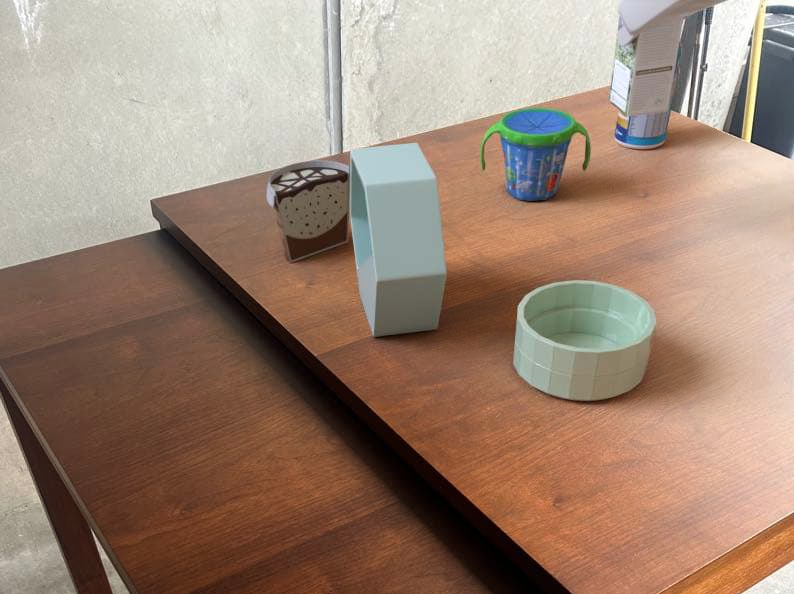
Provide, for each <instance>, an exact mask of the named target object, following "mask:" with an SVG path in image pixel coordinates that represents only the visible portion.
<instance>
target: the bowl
mask: <svg viewBox="0 0 794 594" xmlns="http://www.w3.org/2000/svg"><path fill="white" fill-rule="evenodd" d="M656 328H657V317H656V311H655V310H654V309H653V307H652V306H651V305H650V303H649V302H648V301H647V300H645V299H644V298H643V297H642V296H640V295H638V294H637V293H635V292H633V291H632V290H628V289H627V288H623V287H622V286H619V285H616V284H611V283H606V282H601V281H596V280H579V279H572V280H565V281H563V280H562V281H555V282H551V283H548V284H546V285H542V286H539V287H536V288H534V289H533V290H532V291H530V292H528V293H527V294H525V295H524V296H523V298H522V299H521V301H520V302H519V304H518V305H517V311H516V322H515V333H514V344H513V357H512V358H513V359H512V363H513V366H514V368H515V370H516V372H517V373H518V375H519V377H520V378H522V379H523V380H524V381H525V382H526V383H527V384H529V385H530V386H531V387H533V388H535V389H537V390H539V391H540V392H543V393H545V394H547V395H550V396H552V397H556V398H560V399H563V400H568V401H576V402H577V401H579V402H593V401H595V402H596V401H602V400H606V399H611V398H614V397H618V396H620V395H623V394H625V393H628V392H630V391H631V390H633V389H634V388H635V387H637V386H638V385H639V384H640V383H641V382H643V379H644V376H645V374H646V373H647V368H648V365H649V361H650V360H649V359H650V355H651V350H652V347H653V342H654V338H655V337H654V336H655V332H656Z"/></svg>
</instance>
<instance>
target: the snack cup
mask: <svg viewBox="0 0 794 594" xmlns="http://www.w3.org/2000/svg"><path fill="white" fill-rule="evenodd" d="M495 133H498V134H499V137H500V143H501V149H502V152H503V160H504V161H503V162H504V163H503V165H504V175H505V187H506V191H507V192H508V193H509V194H510V196H511V197H514V198H515V199H518V200H520V201H527V202H536V201H541V200H542V201H547V200H548V199H549V198H552V197H553V196H554V195H555V194H556V193H557V192H558V190H559V187H560V183H561V179H562V176H563V171H564V169H565V164H566V160H567V156H568V151H569V146H570V144H571V142H572V139H573V136H574V135H575V134H577V133H578V134H581V135H582V136H584V137H585V149H584V161H583V163H582V166H581V167H582V171H583V172H585V171H587V169H588V167H589V164H590V160H591V154H592V153H591V152H592V147H591V146H592V145H591V140H590V136H589V134H588V131H587V129H586V128H585V127H584V126H583V125H582V124H581V123H579V122H578V121H576V119H575V118H574V117H573V116H572V115H571V114H570V113H568V112H565V111H562V110H558V109H555V108H548V107H530V108H529V107H528V108H522V109H517V110H512V111H510V112H508V113H506V114H504V115H503V116H502V117H501V118H500V120H499V121H498V122H496V123H494V124H493V125H491V126H490V127H489V128H488V130H487V131H485V134H484V136H483V138H482V141H481V145H480V166H481V169H482V171H485V170H486V160H485V145H486V143H487V141H488V140H489V138H490V137H492V135H493V134H495Z"/></svg>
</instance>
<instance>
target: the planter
mask: <svg viewBox="0 0 794 594" xmlns="http://www.w3.org/2000/svg"><path fill="white" fill-rule="evenodd" d="M349 151H350V152H349V154H350V155H349V160H350V161H349V166H350V198H349V221H350V228H351V235H352V244H353V251H354V260H355V269H356V276H357V285H358V293H359V297H360V299H361V303H362V306H363V309H364V313H365V316H366V319H367V322H368V326H369V328H370V332H371V335H372V337H373V338H376V337H377V338H378V337H385V336H393V335H402V334H411V333H417V332H418V333H419V332H428V331H436V330H438V329H439V323H440V317H441V312H442V311H441V310H442V305H443V298H444V292H445V287H446V281H447V275H448V270H447V262H446V261H447V260H446V250H445V241H444V232H443V223H442V222H443V221H442V214H441V204H440V203H441V201H440V194H439V184H438V177H437V176H436V174H435V172H434V170H433V168H432V167H431V165H430V163H429V161H428V159H427V158H426V156H425V153H424V152H423V150H422V148H421V147H420V145H419V143H418V142H410V143H408V142H407V143H399V144H387V145H377V146H367V147H358V148H350V150H349Z"/></svg>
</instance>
